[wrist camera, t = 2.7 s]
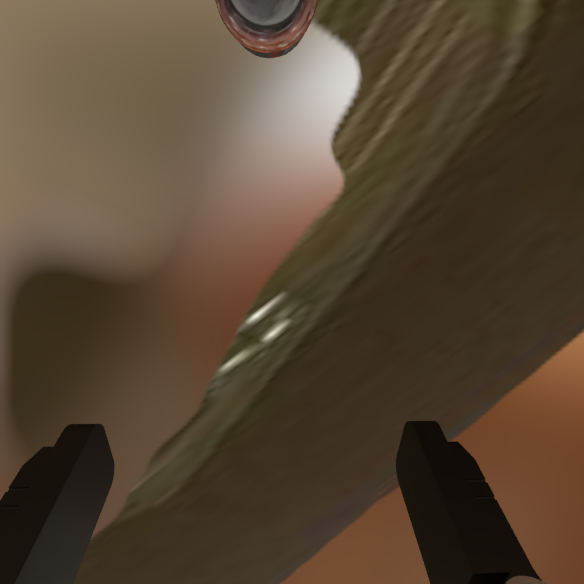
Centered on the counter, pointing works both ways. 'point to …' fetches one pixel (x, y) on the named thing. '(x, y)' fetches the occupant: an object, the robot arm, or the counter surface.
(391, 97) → the counter surface
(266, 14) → the supplement bottle
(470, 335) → the counter surface
